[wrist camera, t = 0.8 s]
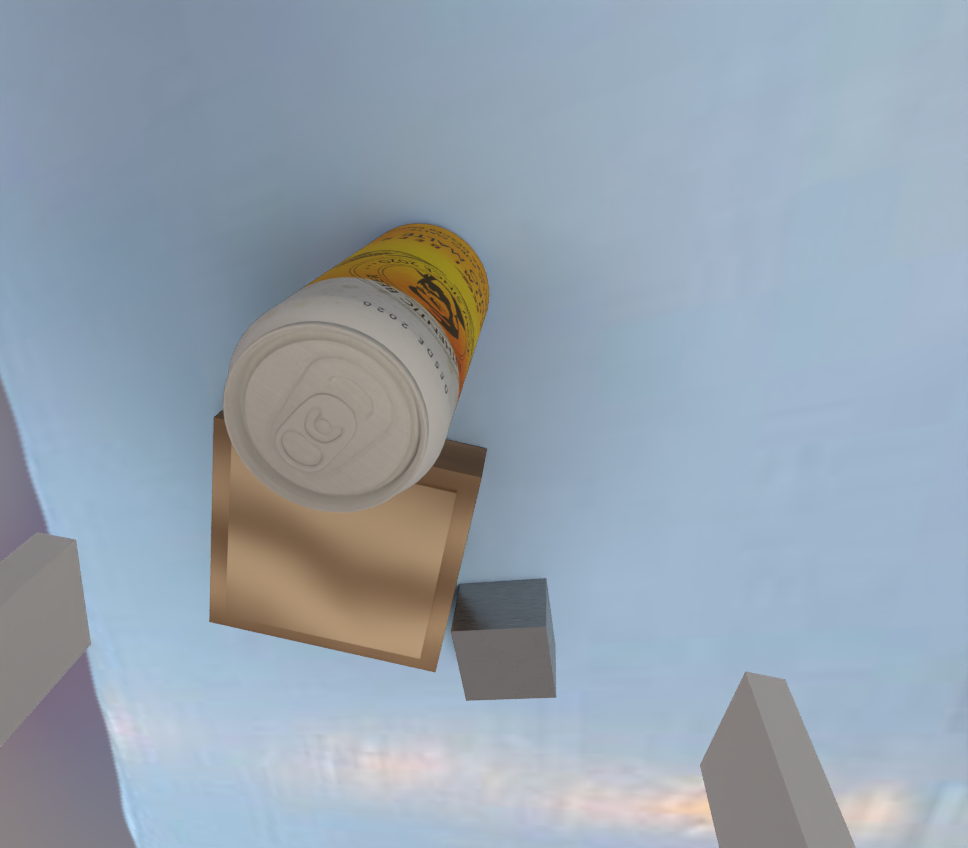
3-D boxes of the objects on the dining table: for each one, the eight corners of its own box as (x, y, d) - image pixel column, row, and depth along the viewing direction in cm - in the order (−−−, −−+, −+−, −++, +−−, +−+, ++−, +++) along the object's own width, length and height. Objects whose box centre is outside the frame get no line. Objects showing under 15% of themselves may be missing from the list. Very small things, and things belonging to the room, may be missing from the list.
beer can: (517, 287, 29) (492, 427, 16) (431, 375, 32) (344, 563, 18) (419, 191, 28) (298, 252, 14) (336, 289, 30) (163, 423, 17)
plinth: (241, 393, 33) (211, 419, 30) (486, 448, 33) (481, 480, 30) (233, 587, 38) (207, 624, 36) (443, 633, 39) (434, 675, 36)
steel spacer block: (460, 582, 37) (451, 631, 33) (546, 576, 36) (546, 626, 33) (473, 647, 39) (466, 700, 35) (555, 643, 38) (556, 697, 35)
